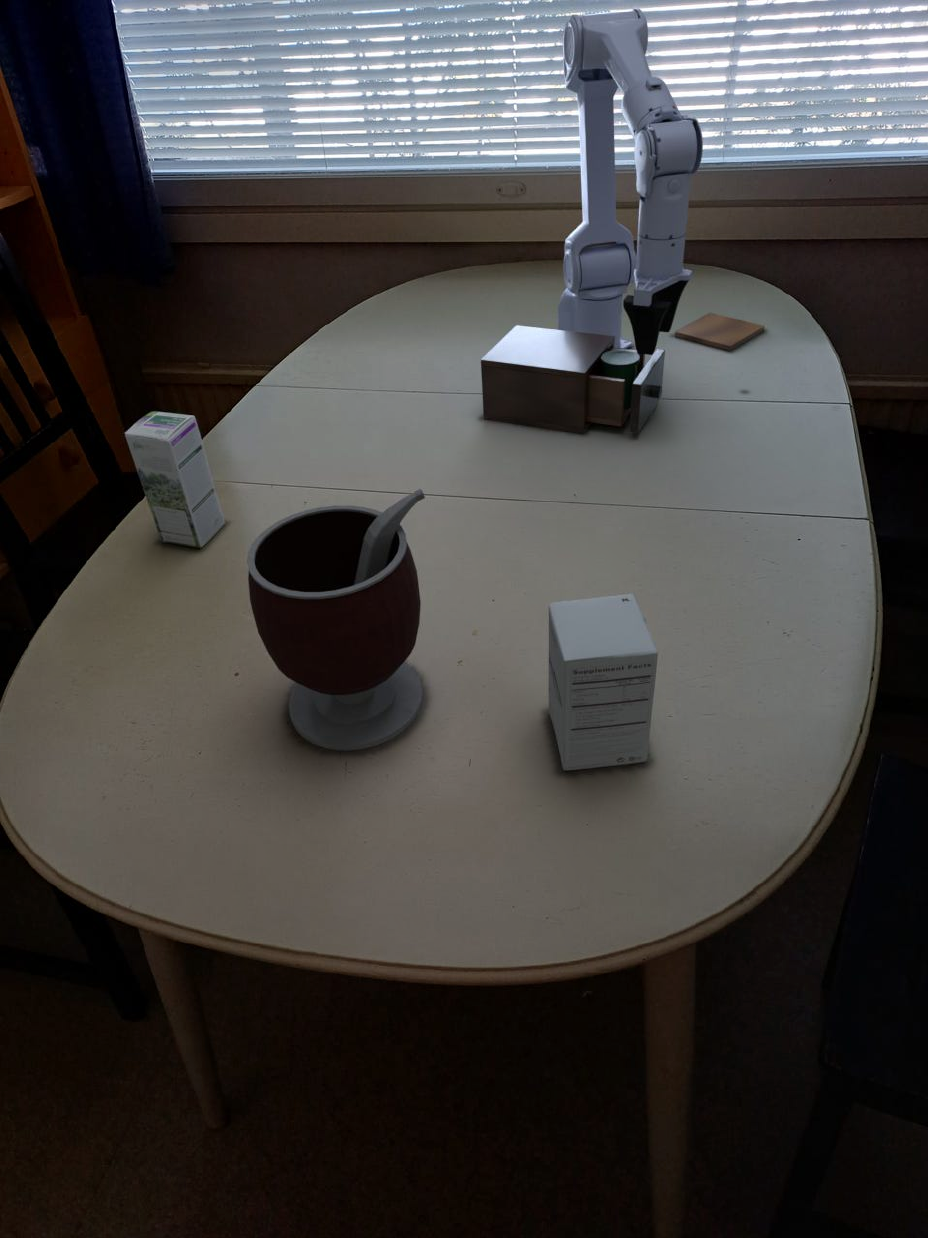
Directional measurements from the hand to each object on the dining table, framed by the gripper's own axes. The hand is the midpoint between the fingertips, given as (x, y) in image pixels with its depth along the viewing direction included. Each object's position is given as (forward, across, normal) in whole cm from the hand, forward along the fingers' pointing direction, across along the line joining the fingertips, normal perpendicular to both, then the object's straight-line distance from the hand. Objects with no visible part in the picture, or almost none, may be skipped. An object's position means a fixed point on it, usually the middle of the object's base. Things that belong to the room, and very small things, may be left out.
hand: (653, 341), depth 117 cm
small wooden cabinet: (+10, -3, +14) cm, 17 cm away
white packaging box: (+10, -60, -13) cm, 63 cm away
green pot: (+8, -3, +4) cm, 9 cm away
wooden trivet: (+10, +30, -3) cm, 31 cm away
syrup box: (+10, -47, +42) cm, 64 cm away
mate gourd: (+10, -64, +8) cm, 65 cm away
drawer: (+9, -3, +5) cm, 11 cm away
